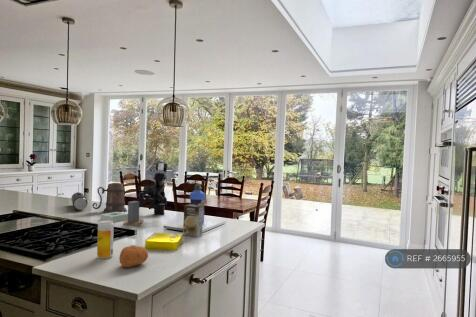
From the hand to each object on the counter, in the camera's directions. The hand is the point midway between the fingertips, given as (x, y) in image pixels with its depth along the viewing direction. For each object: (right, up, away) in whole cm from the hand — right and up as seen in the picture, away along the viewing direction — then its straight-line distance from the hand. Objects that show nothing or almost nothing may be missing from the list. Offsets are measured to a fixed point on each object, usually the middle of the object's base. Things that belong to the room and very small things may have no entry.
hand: (143, 208), depth 203 cm
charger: (-4, -7, -7) cm, 11 cm away
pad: (-4, -9, -7) cm, 12 cm away
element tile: (+24, -11, -48) cm, 54 cm away
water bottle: (+33, -10, 0) cm, 35 cm away
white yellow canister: (+3, -10, -67) cm, 68 cm away
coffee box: (+34, -11, -27) cm, 45 cm away
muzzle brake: (-59, -6, +38) cm, 71 cm away
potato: (+18, -11, -75) cm, 78 cm away
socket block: (-19, -8, +1) cm, 20 cm away
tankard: (-32, -7, +29) cm, 44 cm away
